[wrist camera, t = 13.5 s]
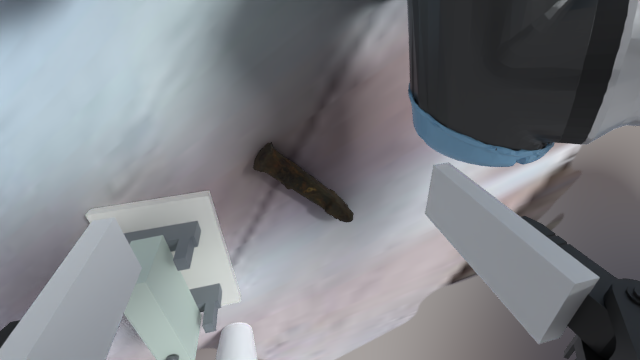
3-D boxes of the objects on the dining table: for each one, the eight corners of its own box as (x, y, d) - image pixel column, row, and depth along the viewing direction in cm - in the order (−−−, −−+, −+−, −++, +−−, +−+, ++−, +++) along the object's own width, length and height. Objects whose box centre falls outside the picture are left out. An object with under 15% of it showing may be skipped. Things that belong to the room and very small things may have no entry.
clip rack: (209, 190, 43) (201, 229, 35) (241, 295, 55) (240, 340, 48) (90, 208, 40) (54, 255, 33) (151, 314, 53) (135, 365, 45)
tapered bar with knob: (162, 234, 39) (143, 289, 32) (201, 315, 48) (193, 372, 41) (131, 241, 38) (103, 297, 31) (176, 321, 48) (163, 379, 40)
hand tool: (250, 157, 42) (251, 173, 38) (268, 138, 41) (271, 152, 37) (336, 218, 51) (344, 236, 47) (353, 203, 50) (362, 220, 46)
